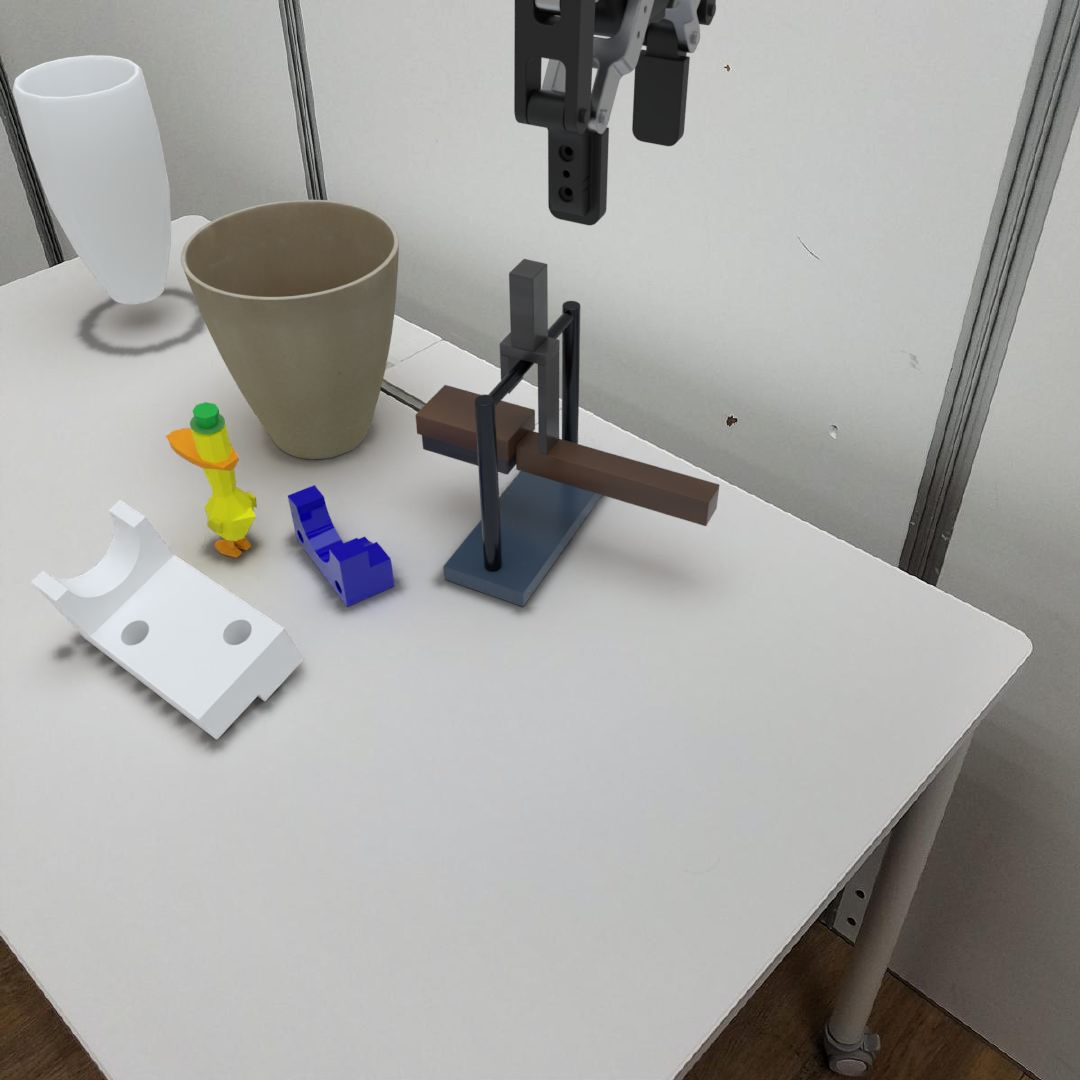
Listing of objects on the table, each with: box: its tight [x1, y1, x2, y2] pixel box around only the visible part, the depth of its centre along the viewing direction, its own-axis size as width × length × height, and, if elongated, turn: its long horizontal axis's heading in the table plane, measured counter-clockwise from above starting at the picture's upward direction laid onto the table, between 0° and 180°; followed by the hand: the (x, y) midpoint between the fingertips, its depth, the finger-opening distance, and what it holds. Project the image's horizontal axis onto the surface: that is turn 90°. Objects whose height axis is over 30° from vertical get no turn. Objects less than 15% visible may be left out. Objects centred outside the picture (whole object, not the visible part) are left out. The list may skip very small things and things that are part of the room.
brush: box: [414, 258, 720, 527], centre depth 70 cm, size 4×20×15 cm, turn 64°
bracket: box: [30, 499, 306, 741], centre depth 67 cm, size 13×7×8 cm, turn 51°
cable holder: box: [287, 484, 395, 608], centre depth 75 cm, size 8×4×4 cm, turn 33°
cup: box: [12, 54, 172, 305], centre depth 93 cm, size 10×10×22 cm
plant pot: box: [180, 199, 400, 460], centre depth 82 cm, size 15×15×16 cm
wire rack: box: [442, 300, 603, 607], centre depth 74 cm, size 6×15×15 cm, turn 154°
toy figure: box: [165, 401, 258, 559], centre depth 74 cm, size 7×4×12 cm, turn 57°
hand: (619, 177), depth 47 cm, fingers open, 8 cm apart
